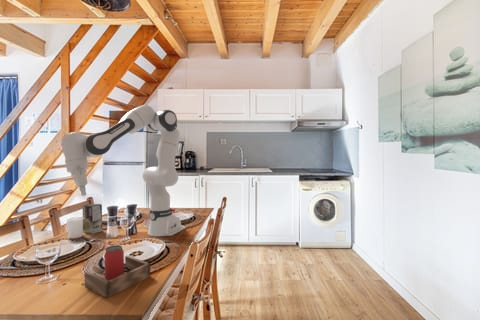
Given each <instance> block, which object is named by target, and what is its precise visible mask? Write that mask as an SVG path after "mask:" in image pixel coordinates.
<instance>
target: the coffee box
mask: <svg viewBox="0 0 480 320" xmlns="http://www.w3.org/2000/svg"><path fill="white" fill-rule="evenodd" d="M102 206H103V204H101V203H94V202H93V203H86V204H83V205H82V217H83V218H84V220H83V233H87V234H96V233H99V232H102V231H103V211H102V209H103V207H102Z"/></svg>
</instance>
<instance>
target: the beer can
mask: <svg viewBox="0 0 480 320" xmlns="http://www.w3.org/2000/svg"><path fill="white" fill-rule="evenodd" d="M124 254H125V253H124V249H123V246H121V245H110V246H108V247H107V248H105V252H104V256H103V257H104V279H106V280H108V281H109V280H112V279H114V278H116V277H118V276H120V275H123V274H125V257H124V256H125V255H124Z"/></svg>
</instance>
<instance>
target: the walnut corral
mask: <svg viewBox="0 0 480 320" xmlns="http://www.w3.org/2000/svg"><path fill="white" fill-rule="evenodd" d="M124 256H125V255H124ZM125 263H126V267H127V268H128V269H130V270H129V271H127V272H124V274H123V275H120V276H118V277H116V278H114V279H112V280H109V281H108V280H106V279H105V277H104V278H103V277H101V276H99V275H97V274H94V273H93V272H91V271H88V270H87V271H85V272H84V286H85V288H88V289H90V290H92V291H93V292H95V293H97V294H99V295H101V296H103V297H105V298H106V299H108V298H111V297H112V296H115V295H117V294H119V293H120V292H122V291H124V290H126V289H129V288H130V287H132V286H134V285H136V284H138V283H140V282H142V281H144V280H146V279H148V278H149V277H151V263H150V262H147V261H145V260H141V259H138V258H137V257H133V256H131V255H126V256H125V257H124V264H125ZM128 269H127V270H128Z"/></svg>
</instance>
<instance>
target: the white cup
mask: <svg viewBox="0 0 480 320" xmlns="http://www.w3.org/2000/svg"><path fill="white" fill-rule="evenodd" d="M83 220H84V218H83V216H75V217H70V218H67V219H66V224H67V225H66V227H67V235H68V237H67V238H68V239H78V238H82V237H83V234H84V232H83Z"/></svg>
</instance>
